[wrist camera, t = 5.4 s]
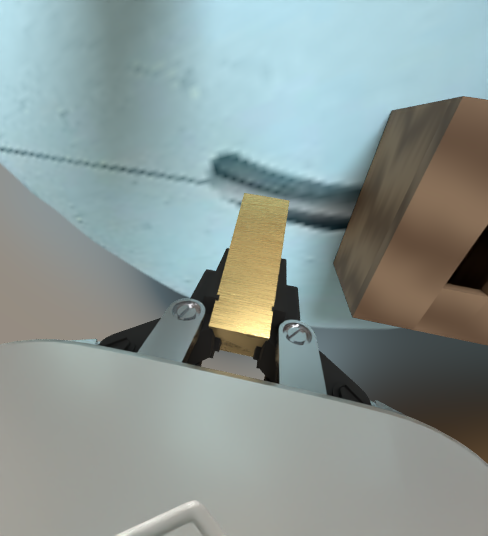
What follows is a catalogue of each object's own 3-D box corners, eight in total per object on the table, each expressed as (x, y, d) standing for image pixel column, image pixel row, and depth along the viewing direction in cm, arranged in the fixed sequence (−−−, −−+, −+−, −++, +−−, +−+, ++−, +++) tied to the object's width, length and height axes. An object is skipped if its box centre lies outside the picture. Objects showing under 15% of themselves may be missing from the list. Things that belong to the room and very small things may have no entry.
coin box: (391, 110, 21) (463, 96, 13) (557, 135, 20) (753, 138, 12) (333, 263, 29) (352, 317, 21) (449, 285, 29) (519, 351, 20)
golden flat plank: (244, 192, 10) (208, 325, 8) (289, 200, 10) (268, 338, 8) (241, 251, 15) (218, 349, 12) (273, 257, 15) (256, 357, 12)
